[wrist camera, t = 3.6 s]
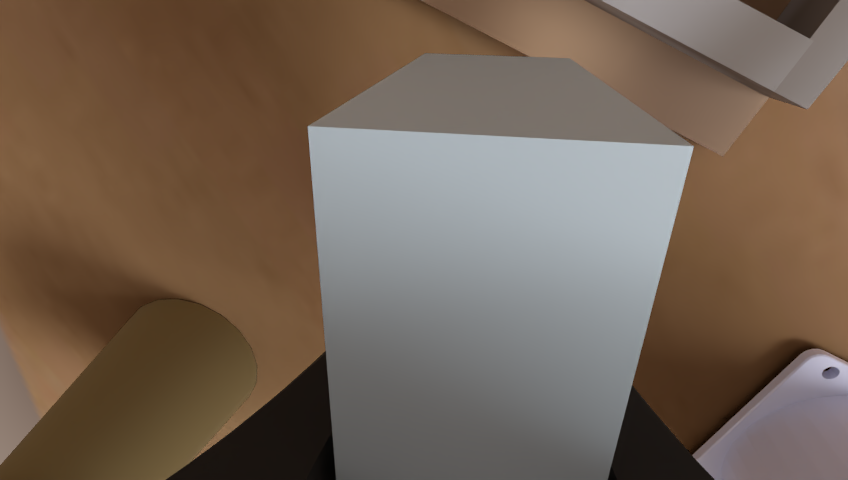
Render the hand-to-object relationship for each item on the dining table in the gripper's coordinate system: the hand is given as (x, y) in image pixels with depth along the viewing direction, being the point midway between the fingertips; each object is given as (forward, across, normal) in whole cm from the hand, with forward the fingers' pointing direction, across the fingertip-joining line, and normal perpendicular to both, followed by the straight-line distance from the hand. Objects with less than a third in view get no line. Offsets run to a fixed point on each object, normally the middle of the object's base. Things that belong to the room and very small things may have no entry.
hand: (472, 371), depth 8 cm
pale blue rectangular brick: (+2, 0, 0) cm, 3 cm away
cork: (+9, +12, +8) cm, 17 cm away
